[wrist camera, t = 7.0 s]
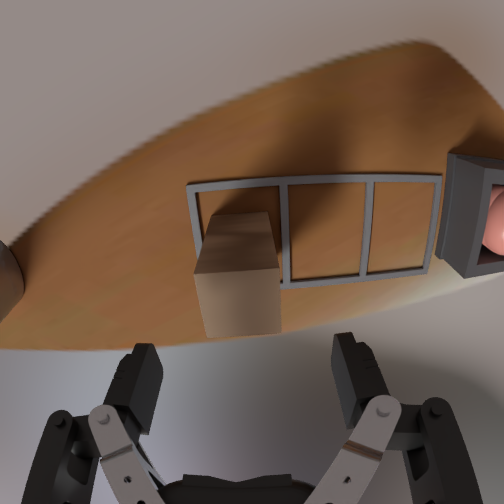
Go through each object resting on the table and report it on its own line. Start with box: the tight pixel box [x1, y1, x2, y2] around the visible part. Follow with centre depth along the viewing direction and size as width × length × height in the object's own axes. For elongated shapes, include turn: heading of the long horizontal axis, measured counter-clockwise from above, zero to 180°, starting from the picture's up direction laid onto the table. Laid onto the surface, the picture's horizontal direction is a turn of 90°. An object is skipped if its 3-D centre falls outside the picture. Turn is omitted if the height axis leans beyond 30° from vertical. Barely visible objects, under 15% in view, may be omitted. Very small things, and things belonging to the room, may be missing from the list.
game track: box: [186, 174, 442, 290], centre depth 24 cm, size 22×10×1 cm, turn 94°
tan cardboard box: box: [194, 211, 281, 338], centre depth 20 cm, size 4×4×9 cm
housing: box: [435, 153, 504, 279], centre depth 21 cm, size 10×10×5 cm
